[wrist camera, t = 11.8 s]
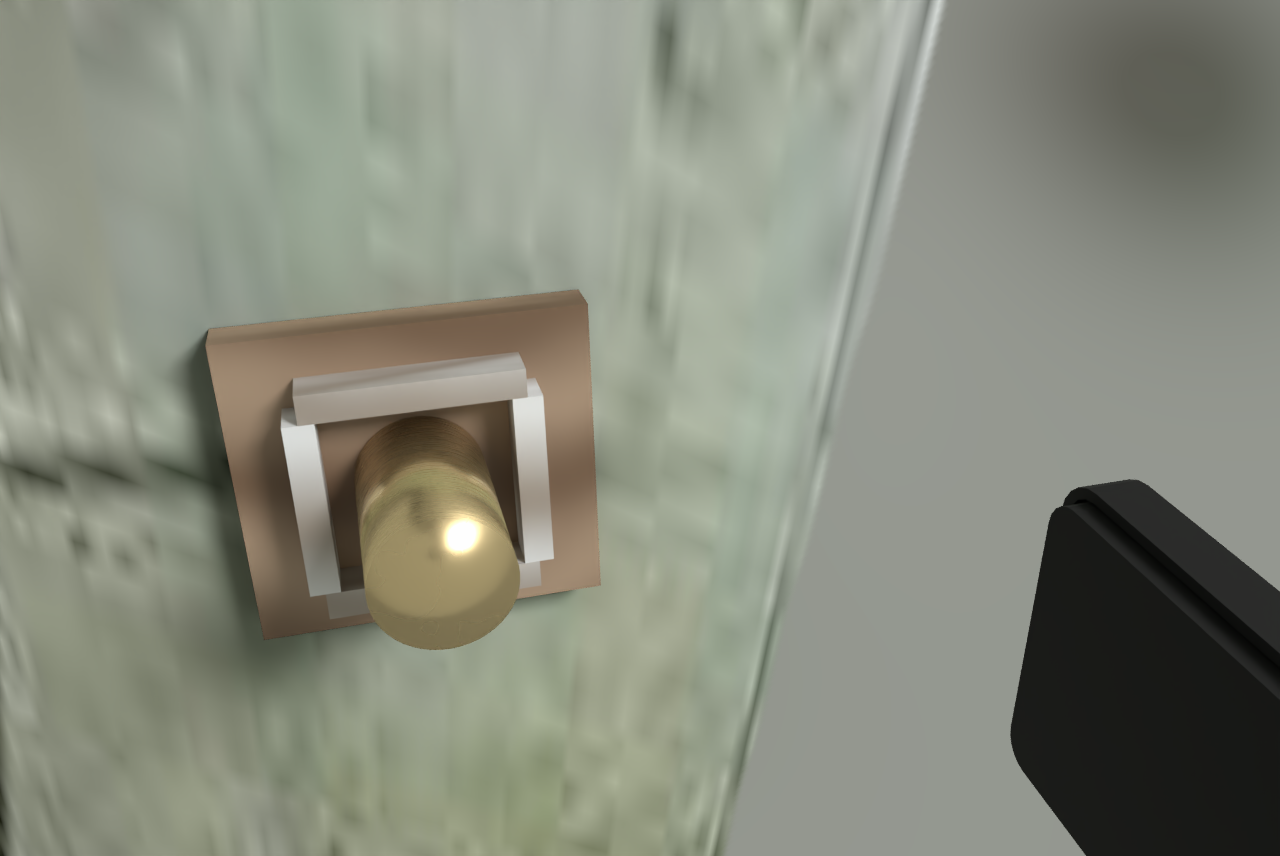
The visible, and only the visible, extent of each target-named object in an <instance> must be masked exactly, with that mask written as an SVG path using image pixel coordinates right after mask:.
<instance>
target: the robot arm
mask: <svg viewBox="0 0 1280 856" xmlns="http://www.w3.org/2000/svg"><path fill="white" fill-rule="evenodd" d="M1011 744H1012V748H1013V751H1014V755H1015V757H1016V760H1017V762H1018V764H1019V766H1020V767H1021V769H1022V771H1023V772H1024V773H1025V775H1026V776H1027V777H1028V779H1029V780H1030V781H1031V783H1032V784H1033V785H1034V787H1035V788H1036V789H1037V791H1038V792H1039V793H1040V795H1041V796H1042V797H1043V799H1044V800H1045V801H1046V803H1047V804H1048V805H1049V807H1050V808H1051V809H1052V811H1053V812H1054V813H1055V815H1056V816H1057V817H1058V819H1059V820H1060V821H1061V823H1062V824H1063V825H1064V827H1065V828H1066V829H1067V831H1068V832H1069V833H1070V835H1071V836H1072V837H1073V839H1074V840H1075V841H1076V843H1077V844H1078V845H1079V847H1080V848H1081V849H1082V851H1083V852H1084V853H1085V855H1086V856H1280V591H1278V590H1277V589H1276V588H1275V587H1273V586H1272V585H1271V584H1270V583H1268V582H1267V581H1266V580H1265V579H1263V578H1262V577H1261V576H1260V575H1259V574H1257V573H1256V572H1255V571H1254V570H1252V569H1251V568H1250V567H1249V566H1247V565H1246V564H1245V563H1244V562H1242V561H1241V560H1240V559H1239V558H1237V557H1236V556H1235V555H1234V554H1232V553H1231V552H1230V551H1229V550H1227V549H1226V548H1225V547H1224V546H1223V545H1221V544H1220V543H1219V542H1217V541H1216V540H1215V539H1214V538H1212V537H1211V536H1210V535H1209V534H1208V533H1206V532H1205V531H1204V530H1203V529H1201V528H1200V527H1199V526H1198V525H1196V524H1195V523H1194V522H1193V521H1191V520H1190V519H1189V518H1188V517H1186V516H1185V515H1184V514H1183V513H1181V512H1180V511H1179V510H1178V509H1177V508H1175V507H1174V506H1173V505H1172V504H1170V503H1169V502H1168V501H1167V500H1165V499H1164V498H1163V497H1162V496H1160V495H1159V494H1158V493H1157V492H1156V491H1154V490H1153V489H1152V488H1150V487H1149V486H1148V485H1146V484H1145V483H1143V482H1141V481H1139V480H1130V479H1129V480H1123V481H1117V482H1110V483H1104V484H1098V485H1092V486H1085V487H1078V488H1076V489H1074V490H1072V491H1071V492H1070V493H1069V494H1068V496H1067V497H1066V498H1065V501H1064V504H1063V506H1061V507H1059V508H1056V509H1055V511H1054V512H1053V513H1052V515H1051V517H1050V520H1049V524H1048V530H1047V535H1046V541H1045V547H1044V551H1043V556H1042V562H1041V568H1040V573H1039V578H1038V583H1037V589H1036V594H1035V600H1034V605H1033V611H1032V616H1031V621H1030V627H1029V632H1028V637H1027V643H1026V648H1025V654H1024V659H1023V664H1022V670H1021V675H1020V681H1019V686H1018V692H1017V698H1016V702H1015V707H1014V713H1013V718H1012V724H1011Z"/></svg>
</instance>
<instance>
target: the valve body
mask: <svg viewBox="0 0 1280 856" xmlns="http://www.w3.org/2000/svg"><path fill="white" fill-rule="evenodd" d="M354 485H355V495H356V505H357V515H358V525H359V535H360V545H361V556H362V566H363V576H364V586H365V596H366V602H367V606H368V609H369V611H370V614H371V615H372V617H373V619H374V620H375V622H376V623H377V624H378V626H379V627H380V628H381V629H382V630H383V631H384V632H385V633H386V634H388V635H389V636H391V637H392V638H394V639H395V640H397V641H399V642H401V643H403V644H406V645H409V646H412V647H416V648H420V649H429V650H443V649H451V648H456V647H460V646H463V645H466V644H469V643H472V642H474V641H476V640H478V639H480V638H482V637H483V636H485V635H487V634H488V633H489V632H491V631H492V630H493V629H495V628H496V627H497V626H498V625H499V624H500V623H501V622H502V621H503V620H504V619H505V617H506V616H507V615H508V613H509V612H510V610H511V609H512V607H513V605H514V603H515V601H516V598H517V595H518V592H519V587H520V568H519V564H518V560H517V557H516V554H515V551H514V548H513V545H512V542H511V539H510V536H509V533H508V530H507V526H506V523H505V520H504V517H503V514H502V511H501V508H500V505H499V502H498V499H497V496H496V493H495V489H494V486H493V483H492V480H491V477H490V474H489V471H488V468H487V465H486V462H485V459H484V456H483V452H482V450H481V448H480V446H479V444H478V443H477V442H476V440H475V439H474V438H473V436H472V435H471V434H470V433H469V432H468V431H466V430H465V429H464V428H462V427H461V426H459V425H458V424H456V423H454V422H451V421H449V420H446V419H443V418H439V417H434V416H413V417H408V418H404V419H400V420H397V421H395V422H393V423H390V424H388V425H387V426H385V427H383V428H382V429H380V430H379V431H378V432H376V433H375V434H374V435H373V436H372V437H371V438H370V439H369V440H368V441H367V443H366V444H365V445H364V447H363V448H362V450H361V452H360V454H359V456H358V459H357V461H356V465H355V471H354Z"/></svg>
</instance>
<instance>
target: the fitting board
mask: <svg viewBox="0 0 1280 856" xmlns="http://www.w3.org/2000/svg"><path fill="white" fill-rule="evenodd" d="M205 347H206V352H207V357H208V362H209V367H210V372H211V377H212V382H213V387H214V392H215V397H216V402H217V407H218V412H219V417H220V422H221V427H222V432H223V437H224V442H225V447H226V452H227V457H228V462H229V467H230V472H231V477H232V482H233V487H234V492H235V497H236V502H237V507H238V512H239V517H240V522H241V527H242V532H243V537H244V542H245V547H246V552H247V557H248V562H249V567H250V572H251V577H252V582H253V587H254V592H255V597H256V602H257V607H258V612H259V617H260V622H261V627H262V632H263V637H264V640H267V639H273V638H280V637H286V636H292V635H298V634H304V633H310V632H317V631H323V630H329V629H335V628H341V627H347V626H353V625H360V624H366V623H372V622H375V620H374V619H373V617H372V615H371V614H370V611H369V609H368V606H367V602H366V596H365V586H364V576H363V566H362V556H361V545H360V535H359V525H358V515H357V505H356V495H355V485H354V471H355V465H356V461H357V459H358V456H359V454H360V452H361V450H362V448H363V447H364V445H365V444H366V443H367V441H368V440H369V439H370V438H371V437H372V436H373V435H374V434H375V433H376V432H378V431H379V430H380V429H382V428H383V427H385V426H387V425H388V424H390V423H393V422H395V421H397V420H400V419H404V418H408V417H413V416H434V417H439V418H443V419H446V420H449V421H451V422H454V423H456V424H458V425H459V426H461V427H462V428H464V429H465V430H466V431H468V432H469V433H470V434H471V435H472V436H473V438H474V439H475V440H476V442H477V443H478V444H479V446H480V448H481V450H482V452H483V456H484V459H485V462H486V465H487V468H488V471H489V474H490V477H491V480H492V483H493V486H494V489H495V493H496V496H497V499H498V502H499V505H500V508H501V511H502V514H503V517H504V520H505V523H506V526H507V530H508V533H509V536H510V539H511V542H512V545H513V548H514V551H515V554H516V557H517V560H518V564H519V568H520V587H519V592H518V595H517V598H516V599H519V598H526V597H532V596H538V595H544V594H550V593H556V592H562V591H569V590H575V589H581V588H587V587H593V586H599V585H601V582H600V560H599V538H598V517H597V495H596V473H595V451H594V430H593V408H592V386H591V365H590V343H589V321H588V304H587V302H586V300H585V299H584V297H583V296H582V294H581V293H580V291H579V290H570V291H561V292H551V293H542V294H532V295H523V296H514V297H504V298H495V299H485V300H476V301H467V302H457V303H448V304H439V305H429V306H420V307H410V308H401V309H392V310H382V311H373V312H364V313H354V314H345V315H335V316H326V317H317V318H307V319H298V320H288V321H279V322H270V323H260V324H251V325H242V326H232V327H223V328H213V329H209V331H208V335H207V340H206V345H205Z"/></svg>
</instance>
